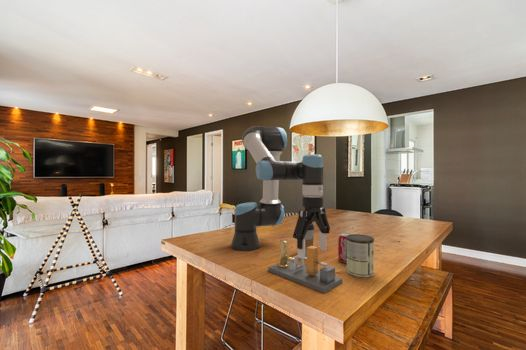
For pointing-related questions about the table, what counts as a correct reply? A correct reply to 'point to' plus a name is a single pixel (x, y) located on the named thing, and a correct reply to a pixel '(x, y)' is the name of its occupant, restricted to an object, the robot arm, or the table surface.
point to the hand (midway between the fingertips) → (312, 253)
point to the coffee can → (360, 255)
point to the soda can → (342, 247)
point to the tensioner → (327, 274)
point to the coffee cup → (309, 237)
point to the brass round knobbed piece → (284, 255)
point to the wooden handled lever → (309, 261)
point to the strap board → (304, 277)
